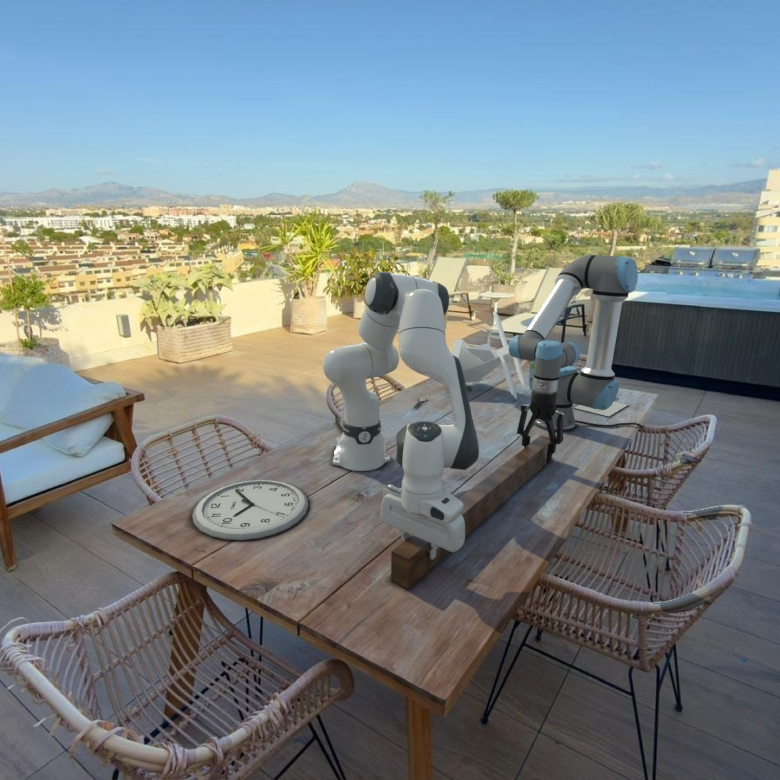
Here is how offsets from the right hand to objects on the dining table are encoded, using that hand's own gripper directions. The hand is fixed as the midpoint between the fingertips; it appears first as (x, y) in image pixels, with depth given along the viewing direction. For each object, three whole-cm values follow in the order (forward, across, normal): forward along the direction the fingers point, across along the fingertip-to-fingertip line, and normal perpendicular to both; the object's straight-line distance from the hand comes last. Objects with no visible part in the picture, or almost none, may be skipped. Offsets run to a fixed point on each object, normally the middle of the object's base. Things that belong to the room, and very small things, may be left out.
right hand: (537, 458), depth 169 cm
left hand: (-2, 0, -68) cm, 68 cm away
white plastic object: (+2, -51, +58) cm, 77 cm away
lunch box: (+2, -28, +85) cm, 89 cm away
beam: (+2, 0, -34) cm, 34 cm away
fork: (+2, -63, +27) cm, 69 cm away
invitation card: (+2, 0, +74) cm, 74 cm away
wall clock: (+2, -50, -75) cm, 90 cm away
